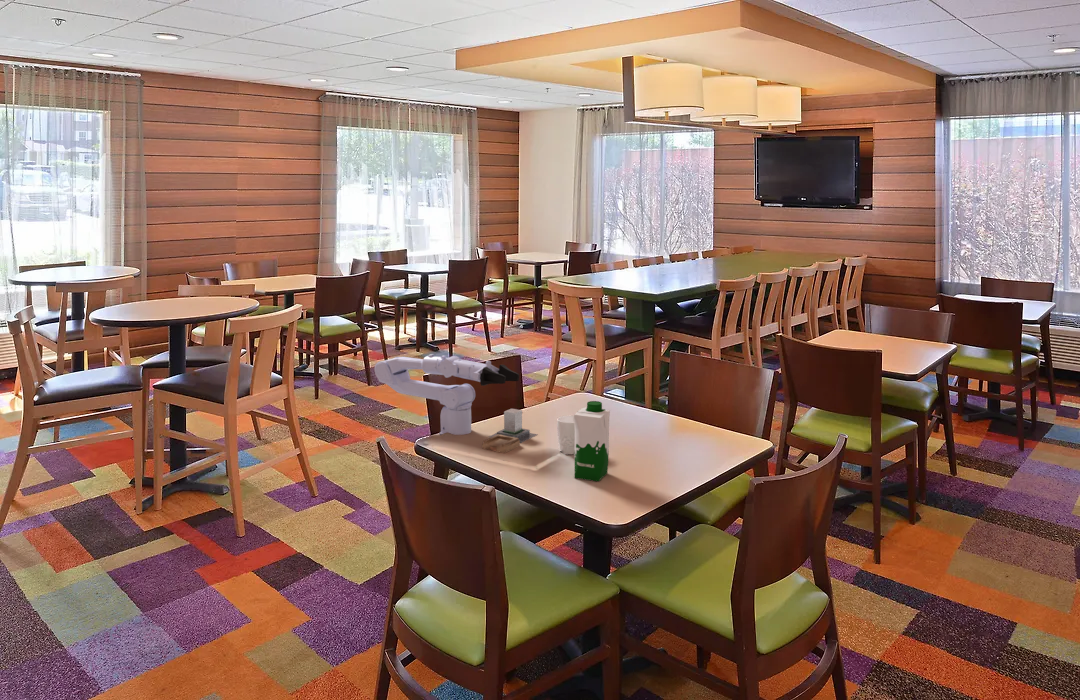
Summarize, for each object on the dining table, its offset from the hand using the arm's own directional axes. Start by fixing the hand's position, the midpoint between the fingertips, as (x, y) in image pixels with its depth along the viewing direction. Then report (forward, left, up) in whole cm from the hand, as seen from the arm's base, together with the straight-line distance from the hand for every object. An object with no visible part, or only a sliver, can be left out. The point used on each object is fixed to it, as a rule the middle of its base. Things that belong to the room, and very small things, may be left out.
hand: (511, 378), depth 237 cm
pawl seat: (0, -6, -21) cm, 22 cm away
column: (-3, +5, -20) cm, 20 cm away
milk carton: (+33, -11, -21) cm, 41 cm away
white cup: (+18, +4, -21) cm, 28 cm away
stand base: (-3, +5, -21) cm, 21 cm away
